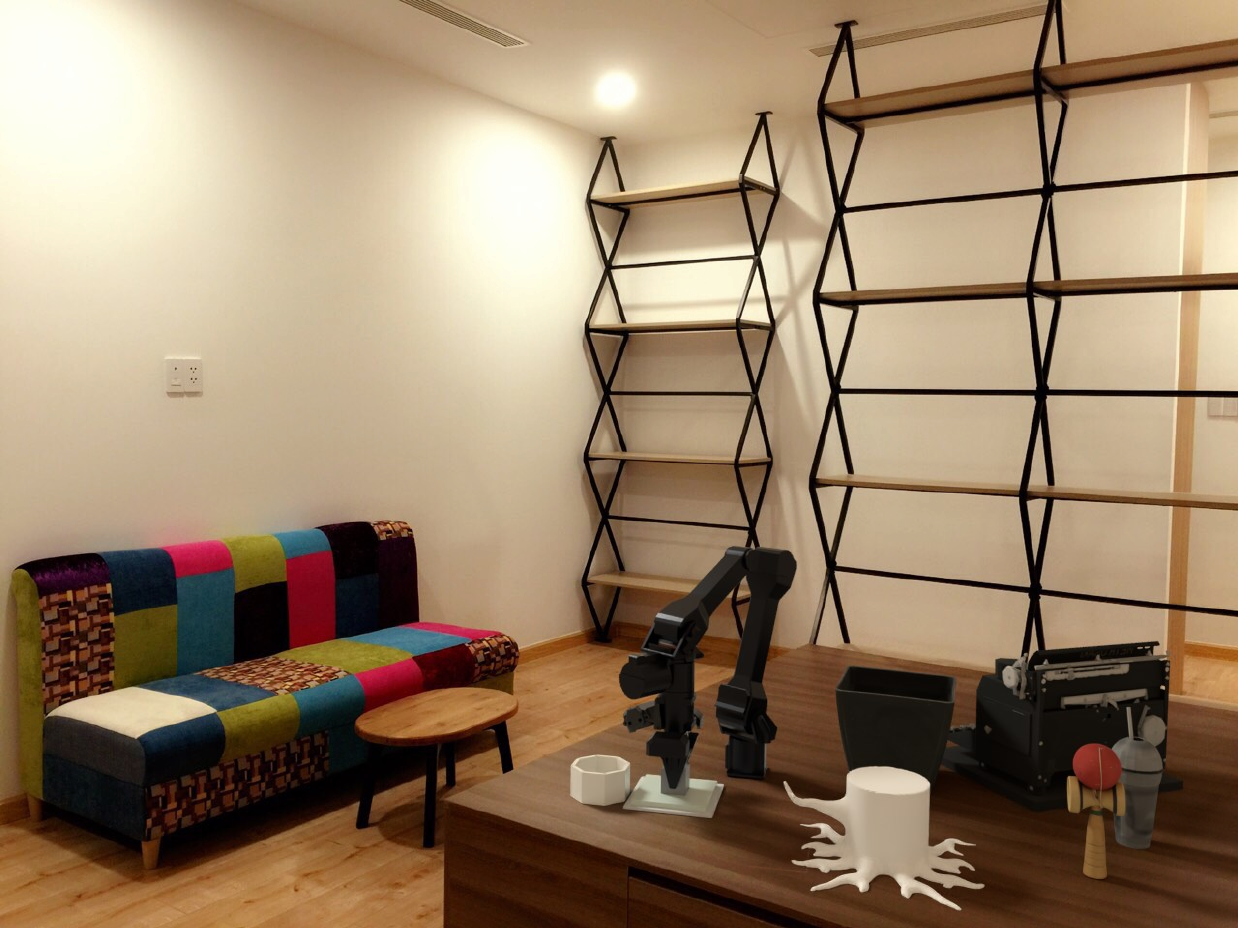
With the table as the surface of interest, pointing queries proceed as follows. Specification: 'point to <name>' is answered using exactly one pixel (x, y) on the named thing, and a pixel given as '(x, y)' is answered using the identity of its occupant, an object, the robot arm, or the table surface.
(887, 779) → the tree stump
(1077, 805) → the kendama
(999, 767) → the typewriter
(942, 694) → the flower pot
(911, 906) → the table surface
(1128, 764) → the beverage cup
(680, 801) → the cover sheet
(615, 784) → the bowl
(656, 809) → the mat
